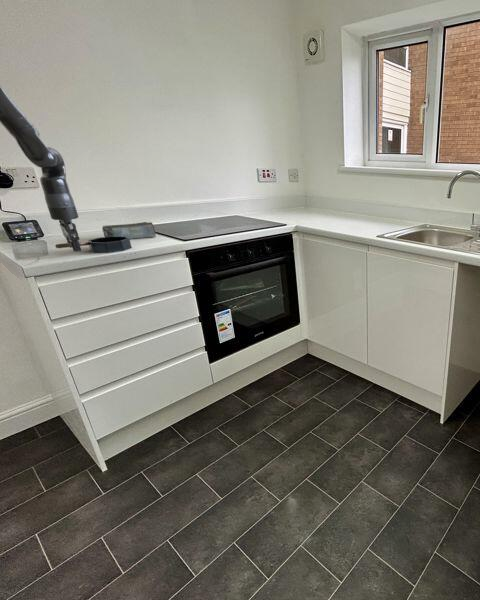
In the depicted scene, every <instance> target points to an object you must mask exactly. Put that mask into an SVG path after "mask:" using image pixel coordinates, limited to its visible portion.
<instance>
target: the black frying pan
mask: <svg viewBox="0 0 480 600" xmlns="http://www.w3.org/2000/svg"><path fill="white" fill-rule="evenodd" d="M79 244H80V247H83V246H85V247H86V246H88V248H89V250H90V252H92V253H94V254H111V253H117V252H118V253H119V252H124V251H127V250H130V249H132V244H131V239H129V238H127V237H121V236H111V237H104V236H103V237H96V238H92V239H88V240H84V241H83V240H82V241H79ZM54 247H55V248H56V249H66V248H70V247H72V245H71V243H67V242H65V243H56V244H55V246H54Z"/></svg>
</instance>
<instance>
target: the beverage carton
mask: <svg viewBox="0 0 480 600" xmlns="http://www.w3.org/2000/svg"><path fill="white" fill-rule="evenodd" d="M102 232H103V237H111V236H121V237H127V238H129V239H130V240H131V239H132V240H134V239H145V238H156V228H155V226H154V224H153V222H152V221H151V222H150V221H149V222H147V221H143V222H135V223H123V224H109V225H108V224H107V225H102Z"/></svg>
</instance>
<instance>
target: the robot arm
mask: <svg viewBox="0 0 480 600" xmlns="http://www.w3.org/2000/svg"><path fill="white" fill-rule="evenodd" d="M0 124H1V126H3V128H4V129H5V131H6V132H7V133H9V135H11V137H12V138H13V139H14V140H15V141H16V144H17V145H18V147H19V148H20V150H21V151H22V153H23V155H24V156H25V157H26V158H27V160H28V161H30V163H32V164H33V165H34V166H36V167H38V168H40V170H41V174H42V175H41V176H40V177H39V182H40V185H41V188H42V191H43V196H44V201H45V204H46V206H47V210H48V212H49V215H50V218H51V219H52V220H54V221H58V223H59V227H60V229H61V233H62V235H63V236H64V238H65V239H66V243H71V245H72V247H69V248H70V249H71V248H72V251H73V252H81V251H82V246H80V244H79V242H80V239H81V238H80V236H79V232H78V230H77V225H76V223H74V222H73V220H76V219H78V218H79V213H78V210H77V207H76V203H75V200H74V198H73V196H72V194H71V191H70V188H69V184H68V182H67V172H66V164H65V160H64V158H63V156H62V154H61V153H60V152H59V151H58V150H56V149H55V148H53V147H51V146H47V145H46V144H44V142H43V141H42V139H41V138H40V136H41V135H40V132H39V130H38V129H37V128H36V127H35V125H34V124H33V123H32V122H31V121H30V119H29V118H28V117H27V116H26V115H25V114H24V112H23V111H22V110H21V108H19V107H18V105H16V103H15V102H14V101H13V99H12V98H10V96H9V95H8V93H6V91H5V90H4V89H3V88H2V87H1V85H0Z"/></svg>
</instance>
